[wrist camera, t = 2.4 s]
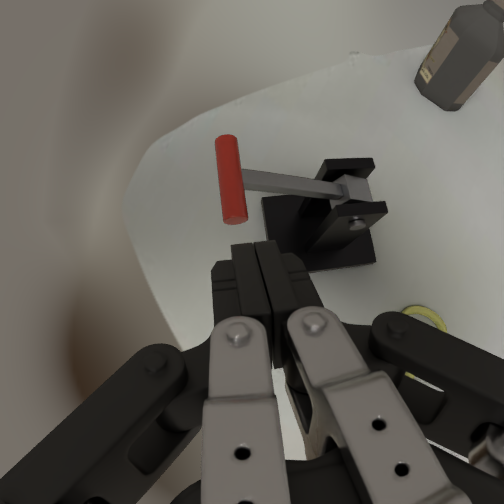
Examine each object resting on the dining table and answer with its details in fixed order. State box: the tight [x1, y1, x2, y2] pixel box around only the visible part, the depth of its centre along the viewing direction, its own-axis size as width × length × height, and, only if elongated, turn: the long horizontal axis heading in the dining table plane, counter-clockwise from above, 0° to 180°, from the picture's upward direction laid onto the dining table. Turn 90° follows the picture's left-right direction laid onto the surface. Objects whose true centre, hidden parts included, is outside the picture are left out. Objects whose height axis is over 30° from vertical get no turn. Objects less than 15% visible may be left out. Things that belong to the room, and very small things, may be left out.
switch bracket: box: [261, 158, 388, 273], centre depth 31 cm, size 12×9×13 cm
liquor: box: [415, 0, 504, 111], centre depth 30 cm, size 9×9×30 cm
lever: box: [215, 134, 373, 225], centre depth 24 cm, size 13×6×2 cm, turn 96°
